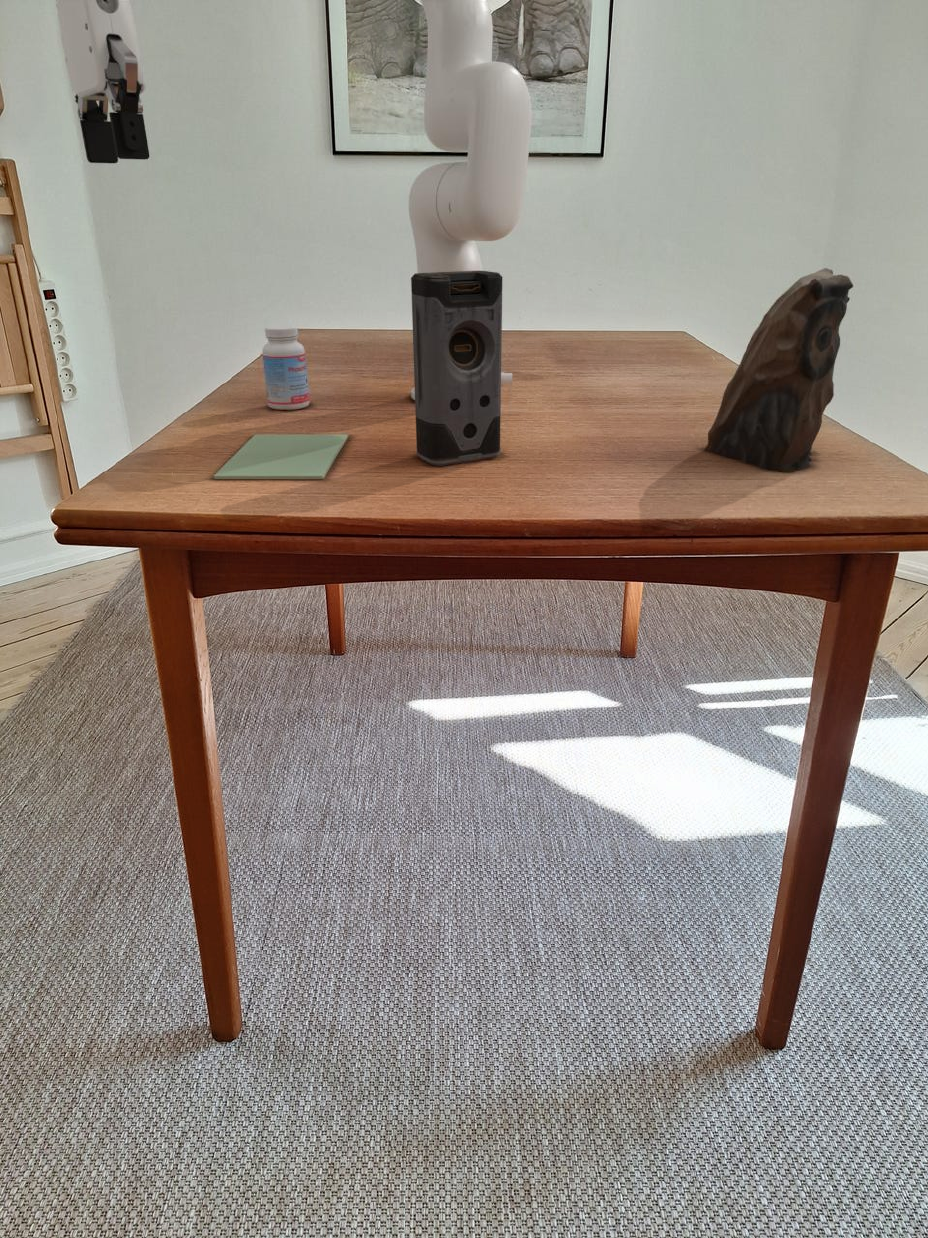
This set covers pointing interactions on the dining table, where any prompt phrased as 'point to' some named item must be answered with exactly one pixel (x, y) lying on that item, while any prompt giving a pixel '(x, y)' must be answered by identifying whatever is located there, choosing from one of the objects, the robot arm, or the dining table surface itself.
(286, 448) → the side mat
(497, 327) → the electronic device
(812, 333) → the owl
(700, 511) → the dining table surface
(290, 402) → the pill bottle
